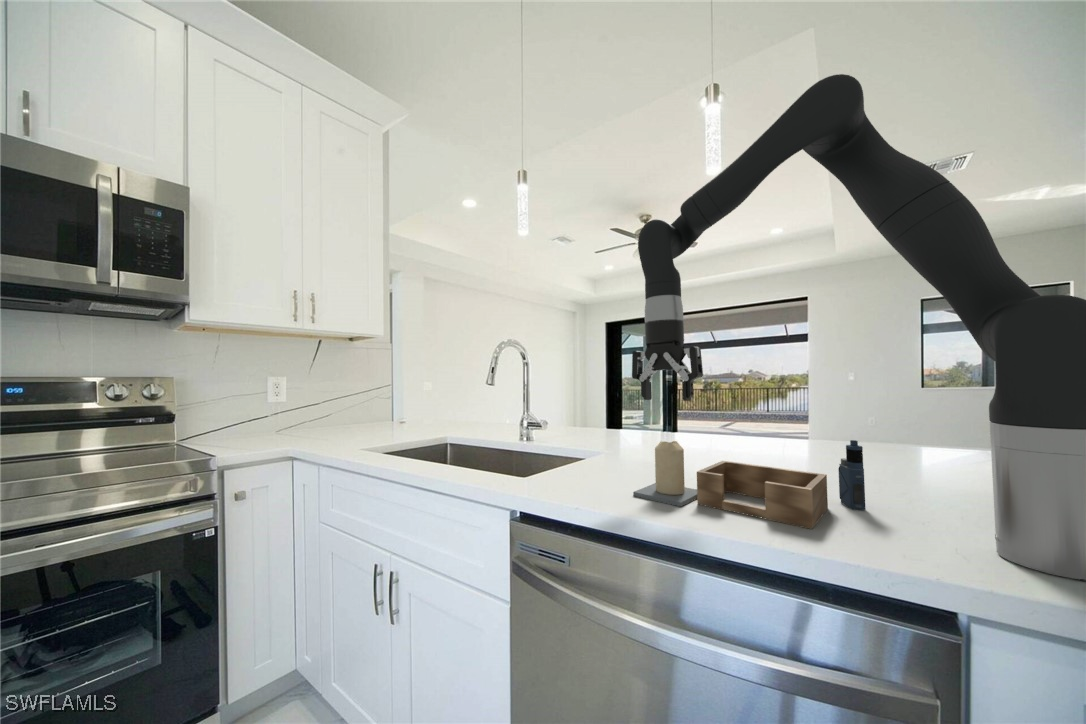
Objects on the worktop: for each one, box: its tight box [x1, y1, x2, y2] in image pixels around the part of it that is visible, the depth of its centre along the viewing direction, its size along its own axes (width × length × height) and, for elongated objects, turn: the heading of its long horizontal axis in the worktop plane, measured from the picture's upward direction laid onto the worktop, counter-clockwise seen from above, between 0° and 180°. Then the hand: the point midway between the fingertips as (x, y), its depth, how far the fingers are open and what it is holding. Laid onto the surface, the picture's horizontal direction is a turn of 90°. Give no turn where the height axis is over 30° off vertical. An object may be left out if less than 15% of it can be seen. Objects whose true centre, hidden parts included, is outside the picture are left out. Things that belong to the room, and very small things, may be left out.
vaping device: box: [838, 439, 867, 511], centre depth 72 cm, size 3×5×12 cm, turn 166°
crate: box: [696, 460, 829, 530], centre depth 73 cm, size 18×13×6 cm
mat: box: [632, 482, 697, 507], centre depth 80 cm, size 10×10×1 cm
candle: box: [654, 440, 686, 495], centre depth 80 cm, size 6×6×10 cm
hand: (666, 400), depth 81 cm, fingers open, 8 cm apart
